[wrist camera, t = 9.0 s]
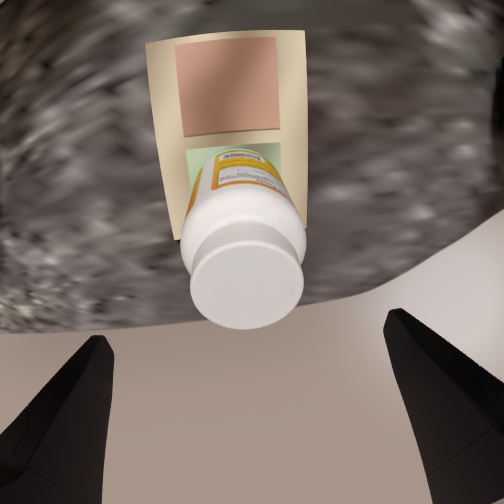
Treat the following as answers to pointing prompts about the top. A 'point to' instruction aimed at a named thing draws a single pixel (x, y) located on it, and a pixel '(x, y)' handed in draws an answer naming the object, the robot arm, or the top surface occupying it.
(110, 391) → the robot arm
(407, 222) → the top surface
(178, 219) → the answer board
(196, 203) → the supplement bottle
